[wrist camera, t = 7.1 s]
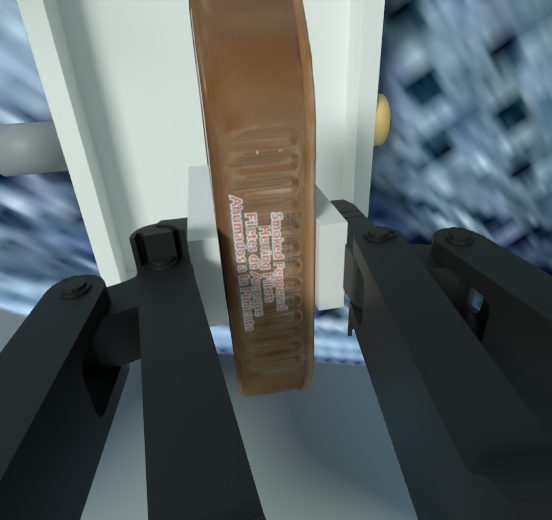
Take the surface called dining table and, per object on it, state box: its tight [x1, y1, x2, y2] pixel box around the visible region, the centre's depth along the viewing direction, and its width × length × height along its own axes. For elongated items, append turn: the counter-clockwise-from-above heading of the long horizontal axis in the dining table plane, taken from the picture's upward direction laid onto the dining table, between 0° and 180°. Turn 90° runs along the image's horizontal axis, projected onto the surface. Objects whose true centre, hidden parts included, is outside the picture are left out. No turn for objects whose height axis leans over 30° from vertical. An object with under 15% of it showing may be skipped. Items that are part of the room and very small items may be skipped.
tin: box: [189, 0, 316, 396], centre depth 15 cm, size 15×3×8 cm, turn 2°
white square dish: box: [0, 0, 390, 287], centre depth 26 cm, size 24×22×4 cm
